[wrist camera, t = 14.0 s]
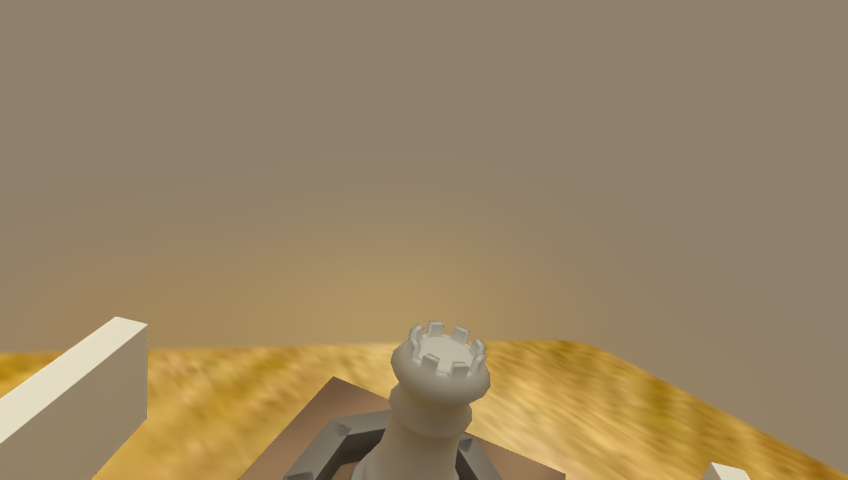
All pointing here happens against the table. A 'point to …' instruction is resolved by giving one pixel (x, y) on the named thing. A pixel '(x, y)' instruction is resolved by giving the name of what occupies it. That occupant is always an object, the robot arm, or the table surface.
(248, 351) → the table surface
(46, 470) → the robot arm
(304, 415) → the socket board
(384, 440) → the rook chess piece
